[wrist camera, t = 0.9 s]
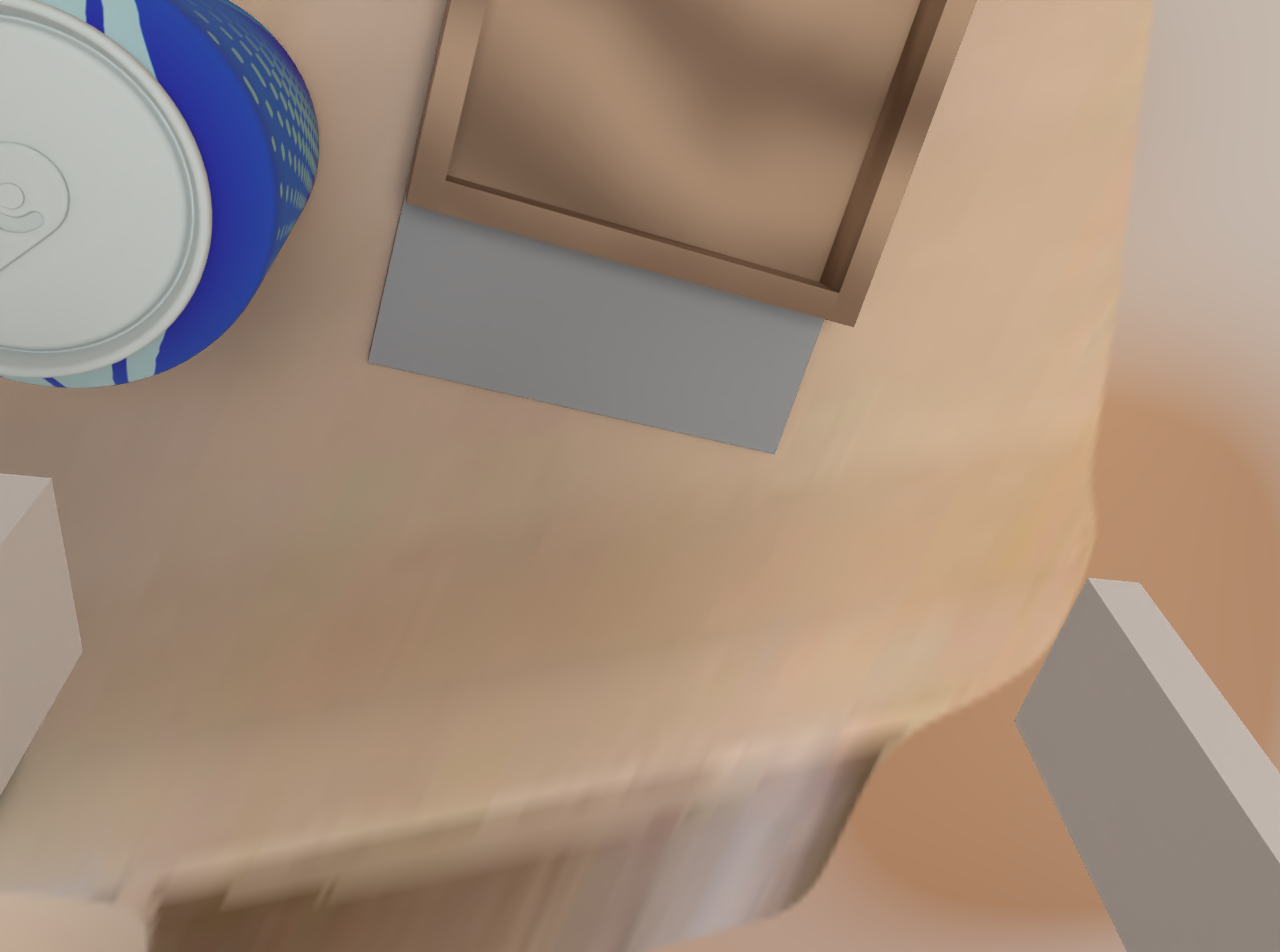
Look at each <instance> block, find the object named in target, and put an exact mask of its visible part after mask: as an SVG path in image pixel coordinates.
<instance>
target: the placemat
mask: <svg viewBox="0 0 1280 952" xmlns="http://www.w3.org/2000/svg"><path fill="white" fill-rule="evenodd" d="M447 3H448V1H447ZM446 8H447V6H446ZM445 12H446V10H445ZM444 17H445V15H444ZM443 21H444V19H443ZM442 26H443V24H442ZM441 30H442V28H441ZM440 35H441V33H440ZM439 39H440V37H439ZM438 44H439V42H438ZM437 48H438V46H437ZM436 53H437V51H436ZM435 57H436V55H435ZM434 62H435V60H434ZM433 66H434V64H433ZM432 71H433V69H432ZM431 75H432V73H431ZM430 80H431V78H430ZM429 85H430V82H429ZM428 89H429V87H428ZM427 94H428V92H427ZM426 98H427V96H426ZM425 103H426V101H425ZM424 107H425V105H424ZM423 112H424V110H423ZM422 116H423V114H422ZM421 121H422V119H421ZM420 125H421V123H420ZM419 130H420V128H419ZM418 134H419V132H418ZM417 139H418V137H417ZM416 143H417V141H416ZM415 148H416V146H415ZM414 152H415V150H414ZM413 157H414V155H413ZM412 161H413V159H412ZM411 166H412V164H411ZM410 170H411V168H410ZM409 175H410V173H409ZM408 179H409V178H408ZM407 184H408V182H407ZM406 189H407V187H406ZM823 321H824V319H823V318H819V317H815V316H812V315H808V314H805V313H801V312H797V311H794V310H790V309H786V308H783V307H779V306H776V305H772V304H768V303H765V302H761V301H757V300H754V299H750V298H747V297H743V296H739V295H736V294H732V293H728V292H725V291H721V290H718V289H714V288H710V287H707V286H703V285H699V284H696V283H692V282H689V281H685V280H681V279H678V278H674V277H671V276H667V275H663V274H660V273H656V272H652V271H649V270H645V269H642V268H638V267H634V266H631V265H627V264H623V263H620V262H616V261H613V260H609V259H605V258H602V257H598V256H594V255H591V254H587V253H584V252H580V251H576V250H573V249H569V248H565V247H562V246H558V245H555V244H551V243H547V242H544V241H540V240H536V239H533V238H529V237H526V236H522V235H518V234H515V233H511V232H507V231H504V230H500V229H497V228H493V227H489V226H486V225H482V224H479V223H475V222H471V221H468V220H464V219H460V218H457V217H453V216H450V215H446V214H442V213H439V212H435V211H431V210H428V209H424V208H421V207H417V206H413V205H410V204H406V191H405V196H404V200H403V205H402V209H401V214H400V218H399V223H398V227H397V232H396V236H395V241H394V245H393V250H392V254H391V259H390V263H389V268H388V273H387V277H386V282H385V286H384V291H383V295H382V300H381V304H380V309H379V313H378V318H377V322H376V327H375V331H374V336H373V340H372V345H371V349H370V354H369V359H368V363H372V364H377V365H381V366H386V367H390V368H394V369H399V370H403V371H408V372H412V373H417V374H421V375H425V376H430V377H434V378H439V379H443V380H448V381H452V382H457V383H461V384H465V385H470V386H474V387H479V388H483V389H488V390H492V391H496V392H501V393H505V394H510V395H514V396H519V397H523V398H527V399H532V400H536V401H541V402H545V403H550V404H554V405H558V406H563V407H567V408H572V409H576V410H581V411H585V412H589V413H594V414H598V415H603V416H607V417H612V418H616V419H620V420H625V421H629V422H634V423H638V424H643V425H647V426H651V427H656V428H660V429H665V430H669V431H674V432H678V433H683V434H687V435H691V436H696V437H700V438H705V439H709V440H714V441H718V442H722V443H727V444H731V445H736V446H740V447H745V448H749V449H753V450H758V451H762V452H767V453H771V454H775V452H776V449H777V447H778V444H779V441H780V438H781V436H782V433H783V430H784V427H785V425H786V422H787V419H788V417H789V414H790V411H791V408H792V406H793V403H794V400H795V397H796V395H797V392H798V389H799V386H800V384H801V381H802V378H803V376H804V373H805V370H806V367H807V365H808V362H809V359H810V356H811V354H812V351H813V348H814V345H815V343H816V340H817V337H818V335H819V332H820V329H821V326H822V324H823Z"/></svg>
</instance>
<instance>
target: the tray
mask: <svg viewBox="0 0 1280 952" xmlns="http://www.w3.org/2000/svg"><path fill="white" fill-rule="evenodd" d="M976 1H977V0H448V3H447V8H446V12H445V17H444V21H443V26H442V30H441V35H440V39H439V44H438V48H437V53H436V57H435V62H434V66H433V71H432V75H431V80H430V85H429V89H428V94H427V98H426V103H425V107H424V112H423V116H422V121H421V125H420V130H419V134H418V139H417V143H416V148H415V152H414V157H413V161H412V166H411V170H410V175H409V179H408V184H407V189H406V204H410V205H413V206H417V207H421V208H424V209H428V210H431V211H435V212H439V213H442V214H446V215H450V216H453V217H457V218H460V219H464V220H468V221H471V222H475V223H479V224H482V225H486V226H489V227H493V228H497V229H500V230H504V231H507V232H511V233H515V234H518V235H522V236H526V237H529V238H533V239H536V240H540V241H544V242H547V243H551V244H555V245H558V246H562V247H565V248H569V249H573V250H576V251H580V252H584V253H587V254H591V255H594V256H598V257H602V258H605V259H609V260H613V261H616V262H620V263H623V264H627V265H631V266H634V267H638V268H642V269H645V270H649V271H652V272H656V273H660V274H663V275H667V276H671V277H674V278H678V279H681V280H685V281H689V282H692V283H696V284H699V285H703V286H707V287H710V288H714V289H718V290H721V291H725V292H728V293H732V294H736V295H739V296H743V297H747V298H750V299H754V300H757V301H761V302H765V303H768V304H772V305H776V306H779V307H783V308H786V309H790V310H794V311H797V312H801V313H805V314H808V315H812V316H815V317H819V318H823V319H826V320H830V321H834V322H837V323H841V324H844V325H848V326H852V327H854V325H855V323H856V320H857V317H858V315H859V312H860V309H861V307H862V304H863V301H864V299H865V296H866V294H867V291H868V288H869V286H870V283H871V280H872V278H873V275H874V272H875V270H876V267H877V264H878V262H879V259H880V256H881V254H882V251H883V248H884V246H885V243H886V240H887V238H888V235H889V232H890V230H891V227H892V224H893V222H894V219H895V217H896V214H897V211H898V209H899V206H900V203H901V201H902V198H903V195H904V193H905V190H906V187H907V185H908V182H909V179H910V177H911V174H912V171H913V169H914V166H915V163H916V161H917V158H918V155H919V153H920V150H921V147H922V145H923V142H924V140H925V137H926V134H927V132H928V129H929V126H930V124H931V121H932V118H933V116H934V113H935V110H936V108H937V105H938V102H939V100H940V97H941V94H942V92H943V89H944V86H945V84H946V81H947V78H948V76H949V73H950V71H951V68H952V65H953V63H954V60H955V57H956V55H957V52H958V49H959V47H960V44H961V41H962V39H963V36H964V33H965V31H966V28H967V25H968V23H969V20H970V17H971V15H972V12H973V9H974V7H975V4H976Z"/></svg>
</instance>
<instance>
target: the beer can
mask: <svg viewBox="0 0 1280 952" xmlns="http://www.w3.org/2000/svg"><path fill="white" fill-rule="evenodd" d="M318 160H319V135H318V127H317V120H316V115H315V111H314V107H313V104H312V101H311V98H310V95H309V92H308V89H307V87H306V85H305V83H304V81H303V78H302V76H301V74H300V73H299V71H298V69H297V67H296V66H295V64H294V62H293V61H292V59H291V58H290V56H289V55H288V53H287V52H286V51H285V49H284V48H283V47H282V46H281V44H280V43H279V42H278V41H277V40H276V38H275V37H274V36H273V35H272V34H271V33H270V32H269V31H268V30H267V29H266V28H265V27H264V26H263V25H262V24H260V23H259V22H258V21H257V20H256V19H255V18H254V17H252V16H251V15H250V14H248V13H247V12H245V11H244V10H243V9H241V8H240V7H238V6H237V5H235V4H233V3H232V2H230V1H228V0H0V377H3V378H7V379H11V380H15V381H19V382H24V383H30V384H36V385H42V386H51V387H64V388H92V387H104V386H113V385H118V384H124V383H129V382H133V381H137V380H140V379H144V378H148V377H151V376H154V375H156V374H159V373H161V372H164V371H166V370H169V369H171V368H173V367H175V366H177V365H179V364H181V363H183V362H185V361H187V360H188V359H190V358H191V357H193V356H195V355H196V354H198V353H199V352H201V351H202V350H204V349H205V348H206V347H208V346H209V345H210V344H211V343H213V342H214V341H215V340H216V339H218V338H219V337H220V336H221V335H222V334H223V333H224V332H225V331H226V330H227V329H228V328H229V327H230V326H231V325H232V324H233V323H234V322H235V321H236V319H237V318H238V317H239V316H240V314H241V313H242V312H243V311H244V310H245V308H246V307H247V305H248V304H249V302H250V300H251V299H252V297H253V296H254V294H255V293H256V291H257V289H258V287H259V286H260V284H261V282H262V280H263V279H264V277H265V275H266V273H267V272H268V270H269V268H270V266H271V265H272V263H273V261H274V259H275V258H276V256H277V254H278V252H279V251H280V249H281V247H282V245H283V244H284V242H285V240H286V238H287V237H288V235H289V233H290V232H291V230H292V228H293V226H294V225H295V223H296V221H297V219H298V218H299V216H300V214H301V212H302V211H303V209H304V207H305V205H306V203H307V201H308V199H309V196H310V193H311V191H312V188H313V185H314V181H315V177H316V173H317V167H318Z"/></svg>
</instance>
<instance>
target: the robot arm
mask: <svg viewBox="0 0 1280 952" xmlns="http://www.w3.org/2000/svg"><path fill="white" fill-rule="evenodd" d="M82 652H83V648H82V643H81V637H80V632H79V626H78V621H77V615H76V609H75V604H74V598H73V593H72V587H71V582H70V576H69V571H68V565H67V560H66V554H65V548H64V543H63V537H62V532H61V526H60V521H59V515H58V510H57V504H56V499H55V493H54V487H53V482H52V478H46V477H35V476H25V475H15V474H4V473H0V795H1V794H2V792H3V790H4V788H5V787H6V785H7V783H8V781H9V780H10V778H11V776H12V774H13V773H14V771H15V769H16V767H17V766H18V764H19V762H20V760H21V759H22V757H23V755H24V753H25V752H26V750H27V748H28V746H29V745H30V743H31V741H32V740H33V738H34V736H35V734H36V733H37V731H38V729H39V727H40V726H41V724H42V722H43V720H44V719H45V717H46V715H47V713H48V712H49V710H50V708H51V706H52V705H53V703H54V701H55V699H56V698H57V696H58V694H59V692H60V691H61V689H62V687H63V685H64V684H65V682H66V680H67V678H68V677H69V675H70V673H71V671H72V670H73V668H74V666H75V664H76V663H77V661H78V659H79V657H80V656H81V654H82ZM1014 721H1015V724H1016V725H1017V728H1018V729H1019V732H1020V734H1021V736H1022V738H1023V740H1024V742H1025V744H1026V746H1027V748H1028V750H1029V752H1030V754H1031V756H1032V758H1033V760H1034V762H1035V764H1036V767H1037V769H1038V771H1039V773H1040V775H1041V777H1042V779H1043V781H1044V783H1045V785H1046V787H1047V789H1048V791H1049V793H1050V795H1051V797H1052V799H1053V801H1054V804H1055V806H1056V808H1057V810H1058V811H1059V814H1060V816H1061V818H1062V820H1063V822H1064V824H1065V826H1066V828H1067V830H1068V832H1069V834H1070V836H1071V838H1072V840H1073V842H1074V845H1075V847H1076V849H1077V851H1078V853H1079V854H1080V857H1081V859H1082V861H1083V863H1084V865H1085V867H1086V869H1087V871H1088V873H1089V875H1090V877H1091V879H1092V881H1093V884H1094V885H1095V888H1096V890H1097V892H1098V894H1099V896H1100V898H1101V900H1102V902H1103V904H1104V906H1105V908H1106V910H1107V912H1108V914H1109V916H1110V918H1111V920H1112V922H1113V925H1114V926H1115V928H1116V931H1117V933H1118V935H1119V937H1120V939H1121V941H1122V943H1123V945H1124V947H1125V949H1126V951H1127V952H1280V773H1279V772H1278V770H1277V769H1276V768H1275V766H1274V765H1273V764H1272V762H1271V761H1270V760H1269V758H1268V757H1267V756H1266V754H1265V753H1264V752H1263V750H1262V749H1261V748H1260V746H1259V745H1258V743H1257V742H1256V741H1255V739H1254V738H1253V737H1252V735H1251V734H1250V732H1249V731H1248V730H1247V728H1246V727H1245V726H1244V724H1243V723H1242V722H1241V720H1240V719H1239V717H1238V716H1237V715H1236V713H1235V712H1234V711H1233V709H1232V708H1231V707H1230V705H1229V704H1228V703H1227V702H1226V700H1225V698H1224V697H1223V696H1222V694H1221V693H1220V692H1219V690H1218V689H1217V688H1216V686H1215V685H1214V683H1213V682H1212V681H1211V679H1210V678H1209V677H1208V676H1207V674H1206V673H1205V671H1204V670H1203V669H1202V667H1201V666H1200V664H1199V663H1198V662H1197V660H1196V659H1195V658H1194V656H1193V655H1192V654H1191V652H1190V651H1189V649H1188V648H1187V647H1186V645H1185V644H1184V643H1183V641H1182V640H1181V639H1180V637H1179V636H1178V634H1177V633H1176V632H1175V630H1174V629H1173V628H1172V626H1171V625H1170V624H1169V622H1168V621H1167V620H1166V618H1165V617H1164V615H1163V614H1162V613H1161V611H1160V610H1159V609H1158V607H1157V606H1156V605H1155V603H1154V602H1153V601H1152V599H1151V598H1150V596H1149V595H1148V594H1147V593H1146V591H1145V590H1144V588H1143V587H1142V586H1141V584H1140V583H1136V582H1126V581H1116V580H1105V579H1095V578H1087V580H1086V582H1085V584H1084V586H1083V587H1082V589H1081V591H1080V593H1079V595H1078V597H1077V599H1076V601H1075V603H1074V605H1073V607H1072V609H1071V611H1070V613H1069V615H1068V617H1067V619H1066V621H1065V622H1064V624H1063V626H1062V628H1061V630H1060V632H1059V634H1058V636H1057V638H1056V640H1055V642H1054V644H1053V646H1052V648H1051V650H1050V652H1049V654H1048V656H1047V658H1046V659H1045V662H1044V663H1043V665H1042V667H1041V669H1040V671H1039V673H1038V675H1037V677H1036V679H1035V681H1034V683H1033V685H1032V687H1031V689H1030V691H1029V693H1028V694H1027V696H1026V698H1025V700H1024V702H1023V704H1022V706H1021V708H1020V710H1019V712H1018V714H1017V716H1016V718H1015V720H1014Z"/></svg>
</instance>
